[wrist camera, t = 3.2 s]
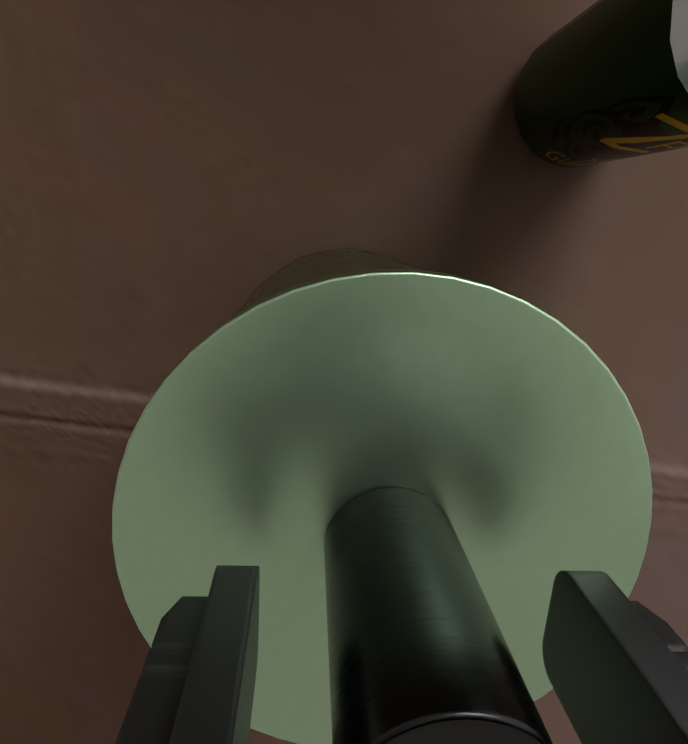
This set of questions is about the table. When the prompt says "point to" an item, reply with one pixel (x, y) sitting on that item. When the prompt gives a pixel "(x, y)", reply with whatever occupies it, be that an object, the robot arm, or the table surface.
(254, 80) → the table surface
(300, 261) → the trash can
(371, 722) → the bin lid
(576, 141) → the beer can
